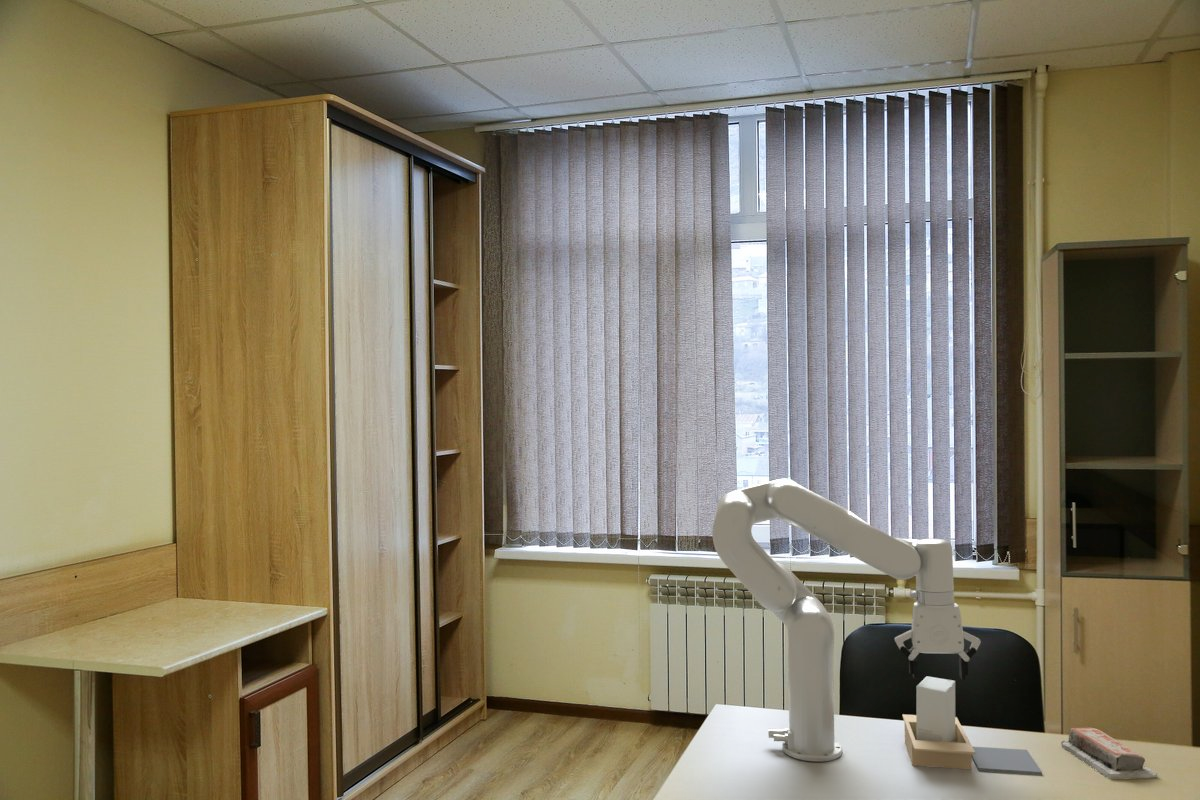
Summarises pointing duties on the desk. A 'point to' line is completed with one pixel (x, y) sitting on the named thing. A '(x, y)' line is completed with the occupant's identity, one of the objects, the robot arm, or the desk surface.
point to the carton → (938, 748)
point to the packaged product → (1106, 754)
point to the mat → (1005, 760)
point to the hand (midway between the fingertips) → (938, 678)
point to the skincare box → (935, 710)
